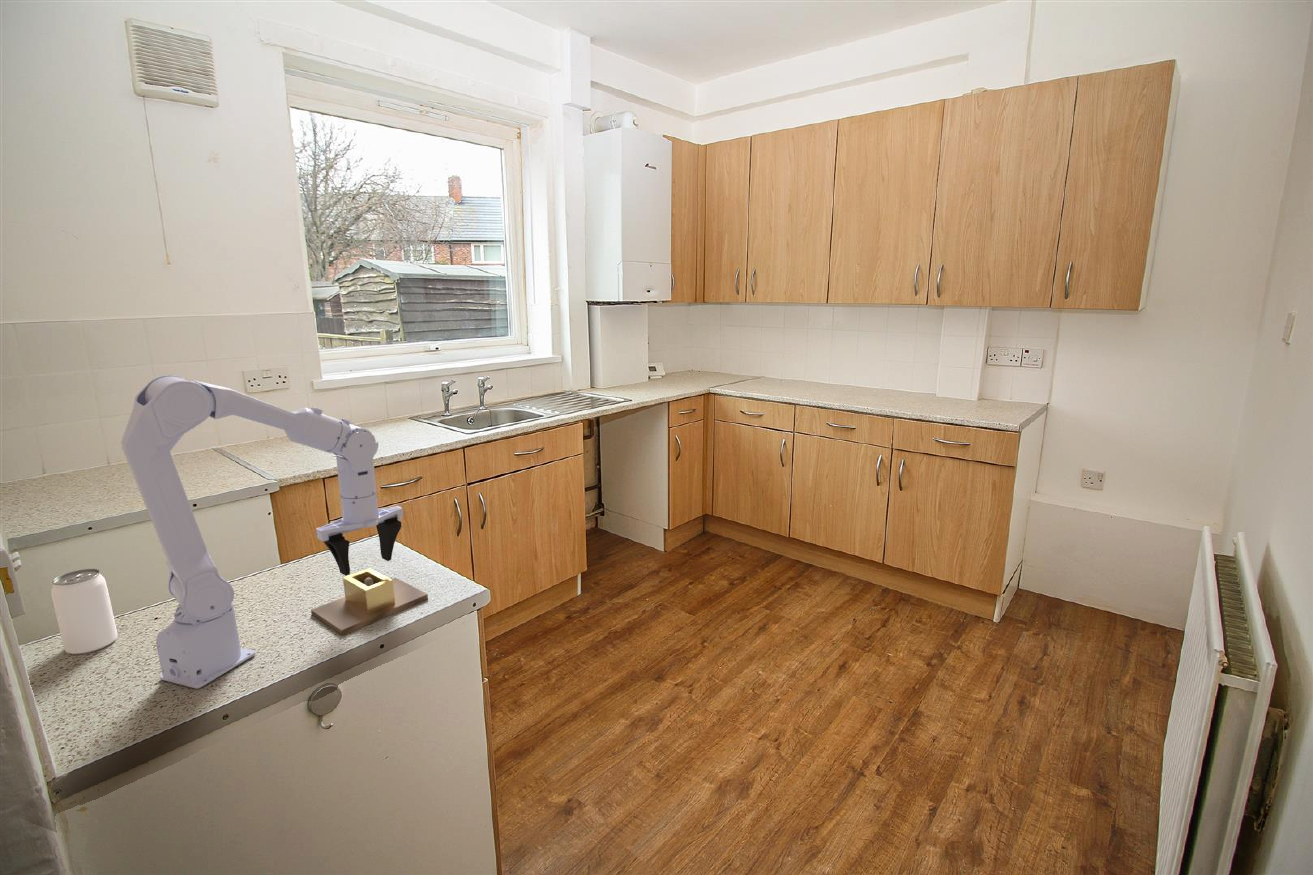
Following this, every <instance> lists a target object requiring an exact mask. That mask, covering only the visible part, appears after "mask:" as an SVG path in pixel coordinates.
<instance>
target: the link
mask: <svg viewBox="0 0 1313 875" xmlns="http://www.w3.org/2000/svg"><path fill="white" fill-rule="evenodd" d="M366 578H372V580H373V585H371V586H369V587H368V586H366V585H364V580H365V579H366ZM391 579H392V578H389V577H388V576H386V575H384V574H381V573H380V572H378V571H376V570H374V569H372V568H371V567H369V568H366V569H363V570H360V571H357V572H354V573H352V574H351V573H350V575H347V576H344V577H342V583H343V590H344V597H345V600H346V601H348V602H349V603H351V604H352V605H354V606H356V607H357V608H359V609H361V610H362V611H364V612H366V613H367V614H370V613H372V612H374V611H377V610H379V609H382V608H384V607H387V606H389V605H391V604H394V603H395V598H394V588H393V580H391Z"/></svg>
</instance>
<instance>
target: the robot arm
mask: <svg viewBox="0 0 1313 875" xmlns="http://www.w3.org/2000/svg"><path fill="white" fill-rule="evenodd" d="M323 412H324V411H323V409H321V408H318V407H315V406H311V408H308V407H301V408H299V409H296V410H293V411H290V410H288V409H285V408H281V407H279V406H277V405H274V404H272V403H270V402H269V403H268V402H266V401H263V400H261V399H258V398H256V397H254V396H251V395H248V394H244V393H242V392H240V391H237V390H234V389H232V388H229V387H226V386H220V385H218V384H217V385H216V384H213V383H208V382H204V381H200V380H199V381H198V380H192V381H191V380H187V379H186V378H184V377H182V376H179V375H175V374H166V375H159V376H157V377H155V378H153V379H152V380H150V381H149V382H148V383H147V384H146V385H145V386H144V387H143V388H142V389H141V390H140V391H139V392H138V393H137V394H136V395H135V397H134V402H133V407H132V410H131V413H130V416H129V419H128V422H127V424H126V427H125V431H124V433H123V436H122V439H121V441H120V442H121V448H122V452H123V454H124V456H125V458H126V462H127V463H128V466H129V469H130V471H131V472H132V475H133V478H134V480H135V483H136V486H137V489H138V491H139V493H140V495H141V498H142V501H143V503H144V505H145V508H146V510H147V512H148V513H147V514H148V516H149V518H150V520H151V523H152V525H153V527H154V529H155V533H156V535H157V537H158V539H159V542H160V545H161V547H162V550H163V552H164V554H165V557H166V565H167V567H168V571H169V578H168V582H167V589H168V592H169V594H170V595H171V596H172V597H173V598H174V599H175V600H176V601H177V602H178V605H177V606H176V609H175V612H174V613H173V616H174V619H173V621H172V622H171V623H170V624H169V625H168V626H167V627H166V628H164V629H162V630H161V631H160V632H159V633H158V634H157V636H156V640H155V644H156V650H157V655H158V661H159V665H160V670H161V674H160V675H159V677H158V678H159V680H162V681H165V682H166V681H167V682H169V683H173V684H177V685H180V686H186V687H189V688H193V689H196V690H197V689H201V688H202V687H204V686H206V685H207V684H209V683H211V682H213V681H214V680H216V679H217V678H219V677H220V676H222V675H224V674H225V673H227V672H229V671H230V670H232V669H234V668H235V667H237V666H239V665H240V664H242V663H244V662H245V661H247V660H249V659H251V658H252V657H254V656H255V655H256V651H255V650H251V649H246V648H243V647H241V642H240V638H239V631H238V625H237V619H236V612H235V606H234V598H235V590H234V587H233V585H231V583H230V582H229V581H227V580H226V579H224V577H222V576H221V575H220V573H219V570H218V568H217V566H216V564H215V562H214V560H213V559H212V557H211V555H210V552H209V551H208V548H207V546H206V544H205V541H204V538H203V536H202V533H201V531H200V528H199V525H198V522H197V520H196V518H195V517H196V516H195V514H194V513H193V512H194V511H193V508H192V507H191V504H190V502H189V499H188V496H187V493H186V491H185V489H184V486H183V483H182V481H181V478H180V475H179V472H178V470H177V468H176V467H177V466H176V464H175V462H174V460H173V457H172V454H171V451H172V450H173V448H174V447H175V446H176V444H177V443H178V442H179V441H180V440H181V438H182V437H183V436H184V435H185V434H187V433H188V432H190V431H191V430H193V429H195V428H196V427H197V426H199V425H201V424H202V423H203V422H204V421H206V420H207V419H208V418H212V419H214V420H218V419H219V420H220V419H224V418H226V417H230V416H236V417H239V418H243V419H247V420H250V421H253V422H257V423H260V424H263V425H267V426H270V427H273V428H277V429H280V430H283V431H284V432H285V434H286V436H287V438H288V440H289V441H290V442H293V443H296V444H299V445H302V446H306V447H309V448H312V449H315V450H317V451H321V452H325V453H328V454H333V455H335V457H336V467H337V470H336V471H337V479H338V486H339V495H340V496H339V497H340V505H341V513H342V518H339V519H337V520H335V521H332V522H330V523H327V524H325V525H322V526H319V527H316V528H315V530H316V538H317V540H319V541H321V542H323V543H324V545H325V546H326V548H328V550H329V551H330V553H331V554H332V556H333V558H334V560H335V562H336V564H337V567H338V570H339V573H340V574H342V575H343V576H344V577H346V576H349V575H351V566H350V560H349V553H350V552H349V548H350V540H347V539H346V537H345V536H343V535H345V534H348V533H353V532H355V531H359V530H361V529H365V528H371V527H376V530H377V533H378V534H377V535H378V540H379V549H380V555H381V559H382V560H385V561H387V562H389V561H392V556H393V550H394V546H395V542H396V539H397V537H398V534H399V532H400V530H401V529H402V521H400V519H403V518H404V512H403V510H404V509H403V507H401V506H399V505H394V506H390V507H384V508H380V509H379V504H378V495H377V483H376V482H377V481H376V473H375V463H374V457H375V455H376V454H377V452H378V448H379V441H376V438H375V436H374V434H372V432H371V431H370V430H369V429H366V428H363V427H360V426H357V425H355V424H352V423H351V422H350V420H348V419H346V418H344V417H342V418H341V419H338V418H335V417H332V416H330V415H327V414H324V413H323Z"/></svg>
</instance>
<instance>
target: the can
mask: <svg viewBox="0 0 1313 875" xmlns="http://www.w3.org/2000/svg"><path fill="white" fill-rule="evenodd" d="M52 584H53V585H52V587H51V590H50V594H51V599H52V603H53V604H52V605H53V607H54V613H55V616H56V620H57V625H58V629H59V632H60V637H61V641H62V645H63V649H64V651H65V653H68V654H70V655H75V656H76V655H85V654H91V653H94V652H97V651H99V650H102V649H104V648H106V647H108V646H110V645H112V643H114V642H115V641H116V639H118V630H117V626H116V621H115V617H114V612H113V607H112V602H111V598H110V594H109V589H108V586H107V585H108V584H107V581H106V578H105V577H104V576H103V575H102V574H101V571H100V569H98V568H83V569H77V570H72V571H69V572H67V573H64V574H61V575H59V576H57V577H55V578H54V579H52Z"/></svg>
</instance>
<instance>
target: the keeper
mask: <svg viewBox="0 0 1313 875" xmlns="http://www.w3.org/2000/svg"><path fill="white" fill-rule="evenodd" d="M390 579H391V580H393V588H394V598H395V603H394V604H391V605H389V606H387V607H384V608H382V609H379V610H377V611H374V612H372V613H370V614H367V613H366V612H364V611H362V610H361V609H359V608H357V607H356V606H354V605H352V604H351V603H349V602H348V601H346V600H345V596H343V597H341V598H338V599H335V600H334V601H330V602H328V603H325V604H322V605H321V606H317V607H314V608H312V609H311V610H310V611H311V612H310V613H311V616H312V617H314V618H316V619H317V620H318V621H320V622H321V623H323V624H324V625H326V626H327V627H329V628H331V629H332V630H333V631H335V632H336V633H338V634H339V635H341V636H345V635H347V634H350V633H352V632H354V631H357V630H359V629H361V628H364V627H366V626H368V625H370V624H373V623H375V622H378V621H380V620H382V619H385V618H387V617H390V616H392V615H394V614H396V613H398V612H401V611H403V610H406V609H408V608H410V607H413V606H416V605H418V604H421V603H422V602H424V600H425V601H427V600H429V596H428V595H429V594H428V593H426V592H424V591H423V590H421V589H419V588H416V587H414V586H413V585H410V584H408V583H407V582H405V581H402V580H401V579H399V578H397V577H394V578H390ZM364 585H366V586H368V587H369V586H371V585H373V580H372V578H366V579H365V580H364ZM426 599H427V600H426Z"/></svg>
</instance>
